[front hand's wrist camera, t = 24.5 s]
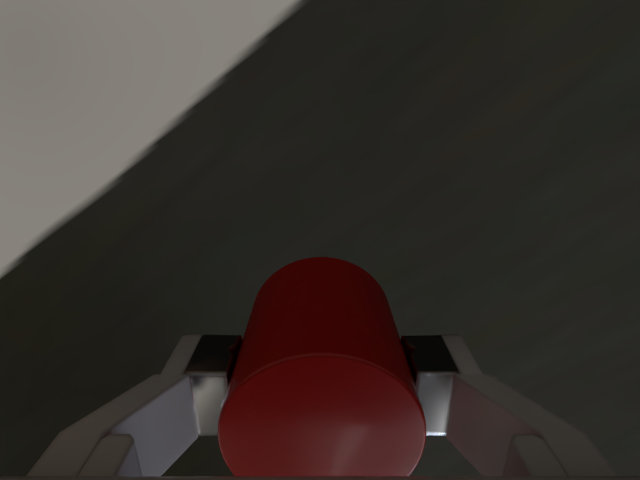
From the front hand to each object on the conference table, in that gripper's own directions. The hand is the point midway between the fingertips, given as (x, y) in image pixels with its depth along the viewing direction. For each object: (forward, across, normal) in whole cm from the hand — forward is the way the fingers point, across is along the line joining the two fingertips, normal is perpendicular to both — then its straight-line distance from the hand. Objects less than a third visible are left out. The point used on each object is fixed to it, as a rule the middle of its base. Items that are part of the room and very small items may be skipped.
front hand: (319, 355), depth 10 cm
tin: (+2, 0, 0) cm, 2 cm away
